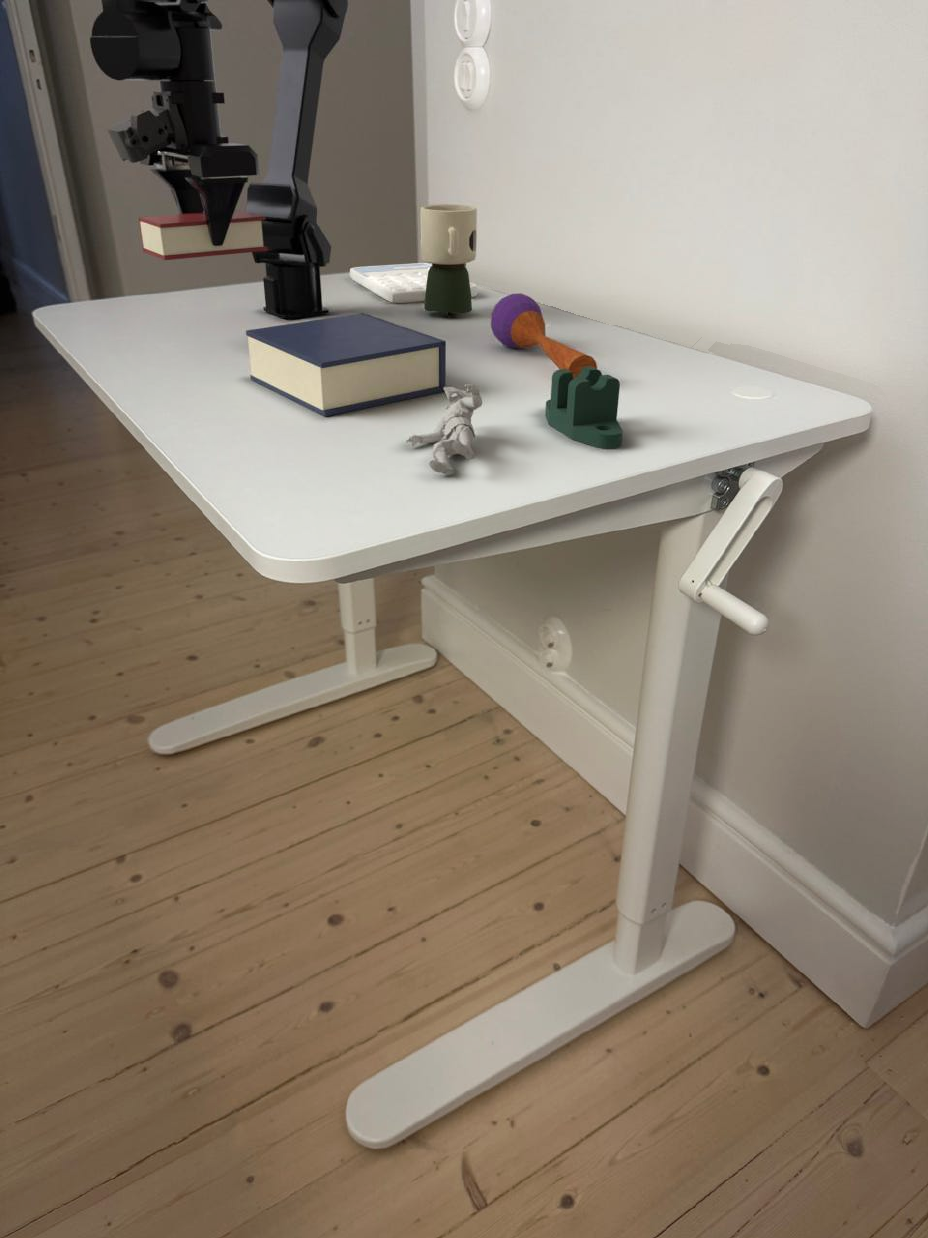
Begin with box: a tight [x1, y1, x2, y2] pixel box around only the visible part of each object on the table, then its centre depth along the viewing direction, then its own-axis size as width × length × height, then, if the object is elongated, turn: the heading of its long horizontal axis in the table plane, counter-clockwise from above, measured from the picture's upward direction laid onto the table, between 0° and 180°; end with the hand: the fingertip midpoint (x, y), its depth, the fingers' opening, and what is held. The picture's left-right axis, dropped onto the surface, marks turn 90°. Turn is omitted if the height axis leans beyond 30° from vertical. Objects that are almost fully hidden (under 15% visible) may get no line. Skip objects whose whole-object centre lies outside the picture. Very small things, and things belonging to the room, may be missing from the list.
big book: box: [245, 312, 447, 417], centre depth 96 cm, size 14×15×5 cm
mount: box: [544, 366, 624, 450], centre depth 85 cm, size 11×4×5 cm, turn 24°
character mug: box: [419, 203, 478, 317], centre depth 122 cm, size 11×7×13 cm, turn 8°
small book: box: [138, 209, 268, 261], centre depth 106 cm, size 12×6×4 cm, turn 126°
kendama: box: [490, 292, 598, 378], centre depth 104 cm, size 6×6×20 cm
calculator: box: [349, 262, 479, 304], centre depth 140 cm, size 13×20×2 cm, turn 23°
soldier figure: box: [405, 383, 483, 477], centre depth 80 cm, size 8×5×12 cm
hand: (205, 241), depth 106 cm, fingers closed on small book, 6 cm apart
